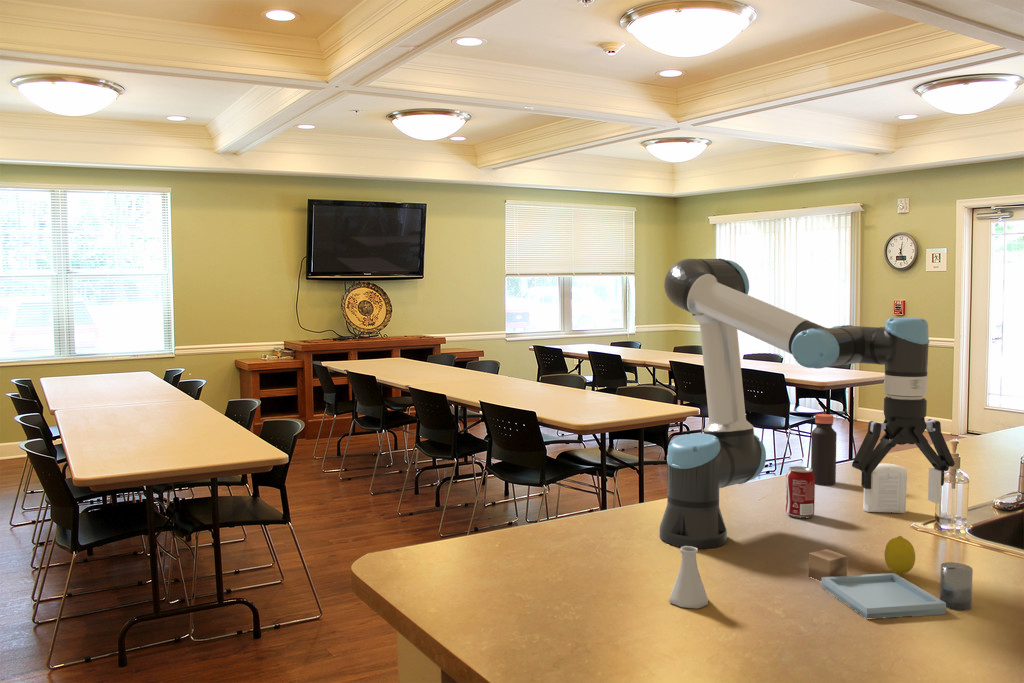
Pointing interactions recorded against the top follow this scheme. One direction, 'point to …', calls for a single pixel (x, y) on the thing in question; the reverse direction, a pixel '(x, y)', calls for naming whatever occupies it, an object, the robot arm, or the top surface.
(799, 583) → the top surface
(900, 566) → the lemon
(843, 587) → the dish
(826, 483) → the bottle
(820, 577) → the walnut block
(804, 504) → the soda can
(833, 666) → the top surface
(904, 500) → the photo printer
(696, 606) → the flask
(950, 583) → the grey tin
